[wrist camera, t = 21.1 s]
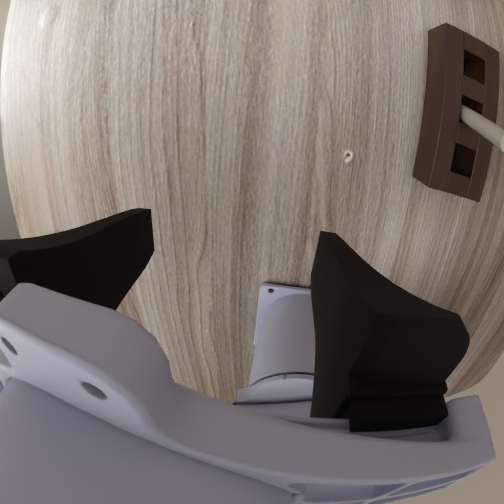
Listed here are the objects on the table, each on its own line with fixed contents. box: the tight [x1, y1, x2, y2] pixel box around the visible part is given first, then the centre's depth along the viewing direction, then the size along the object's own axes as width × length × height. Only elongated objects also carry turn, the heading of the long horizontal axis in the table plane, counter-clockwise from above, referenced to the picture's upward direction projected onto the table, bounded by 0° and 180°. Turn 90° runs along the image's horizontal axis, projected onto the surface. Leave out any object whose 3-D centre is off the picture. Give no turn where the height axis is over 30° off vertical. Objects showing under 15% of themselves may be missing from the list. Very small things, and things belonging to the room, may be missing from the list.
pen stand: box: [412, 23, 499, 202], centre depth 13 cm, size 5×12×3 cm, turn 176°
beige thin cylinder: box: [459, 104, 504, 152], centre depth 12 cm, size 1×1×8 cm
